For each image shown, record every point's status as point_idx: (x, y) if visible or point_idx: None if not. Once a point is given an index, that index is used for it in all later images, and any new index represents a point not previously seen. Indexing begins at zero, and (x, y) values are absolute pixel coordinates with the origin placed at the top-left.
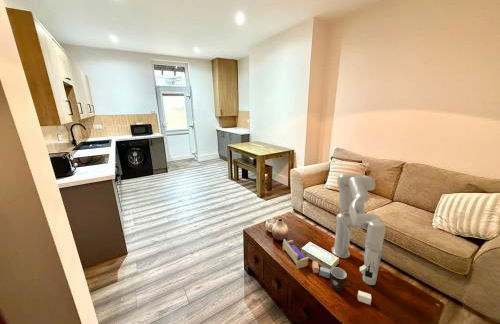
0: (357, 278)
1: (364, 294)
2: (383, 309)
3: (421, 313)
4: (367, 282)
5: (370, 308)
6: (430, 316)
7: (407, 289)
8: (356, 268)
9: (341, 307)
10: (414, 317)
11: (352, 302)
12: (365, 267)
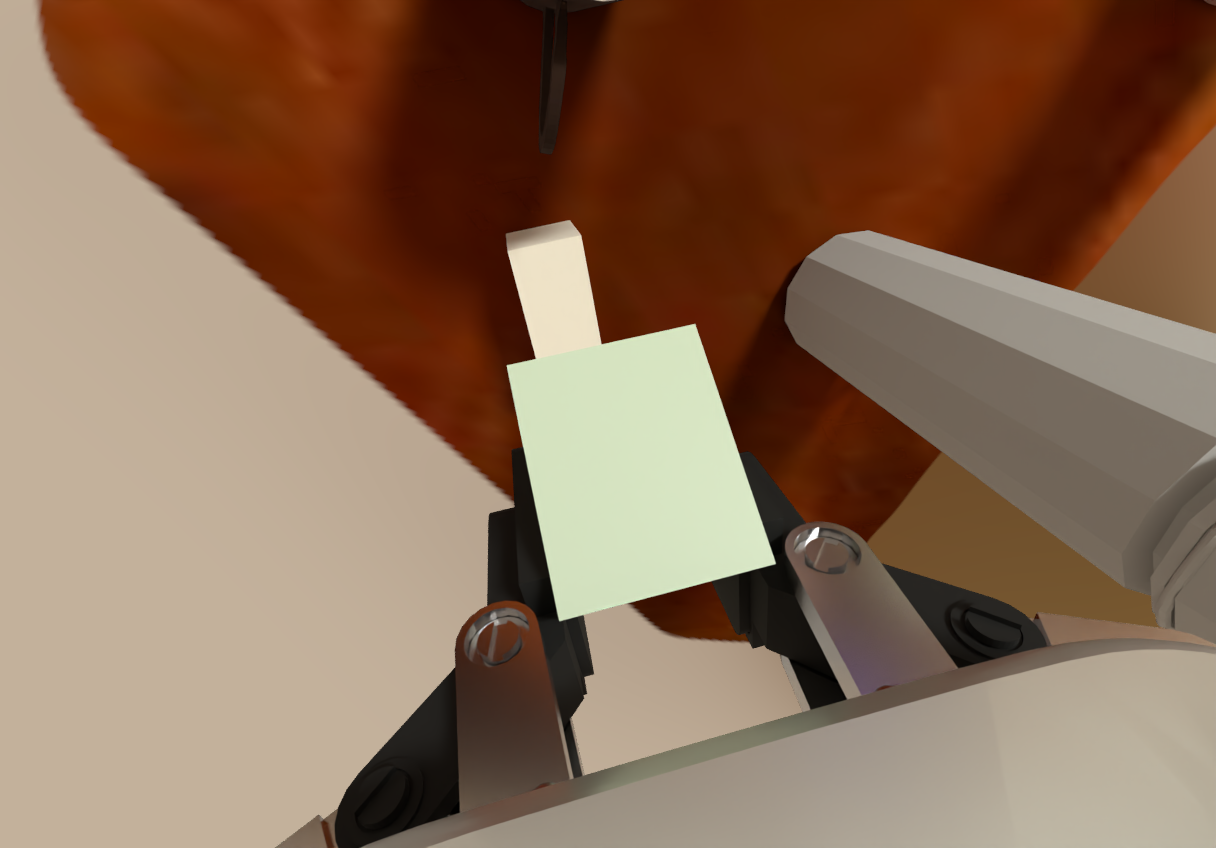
0: (833, 177)
1: (558, 306)
2: None
3: (675, 598)
4: (795, 291)
5: (492, 353)
6: (679, 626)
7: (850, 528)
8: (994, 139)
9: (240, 62)
10: None
11: (434, 183)
12: (600, 575)
